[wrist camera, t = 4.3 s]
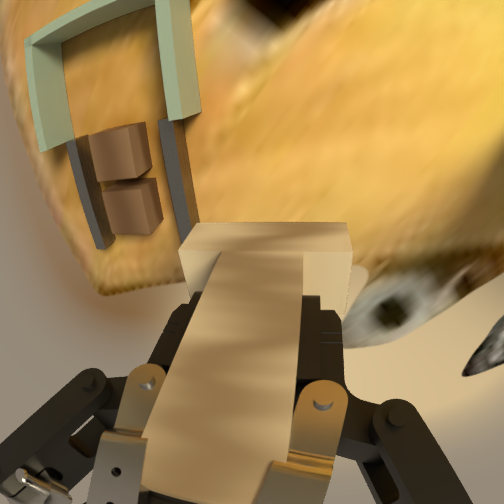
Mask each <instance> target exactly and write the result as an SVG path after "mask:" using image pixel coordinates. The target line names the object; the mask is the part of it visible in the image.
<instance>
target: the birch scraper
mask: <svg viewBox="0 0 504 504" xmlns="http://www.w3.org/2000/svg"><path fill="white" fill-rule="evenodd" d="M178 252H179V256H180V260H181V264H182V268H183V272H184V276H185V279H186V283H187V287H188V290H189V294H190V298H192V296H193V294H194V292H195V291H203V293H202V295H201V298H200V300H199V302H198V304H197V307H196V309H195V311H194V313H193V316H192V318H191V320H190V322H189V325H188V327H187V329H186V332H185V334H184V336H183V338H182V341H181V343H180V345H179V348H178V350H177V352H176V355H175V357H174V359H173V362H172V364H171V366H170V369H169V371H168V373H167V376H166V378H165V381H164V383H163V385H162V388H161V390H160V392H159V395H158V397H157V400H156V402H155V405H154V407H153V409H152V412H151V414H150V417H149V419H148V422H147V424H146V427H145V429H144V432H143V434H142V437H141V438H148V443H147V450H146V456H145V462H144V469H143V476H142V483H141V484H142V485H143V486H145V487H147V488H148V489H149V490H151V491H154V492H157V493H160V494H164V495H167V496H170V497H174V498H178V499H181V500H185V501H189V502H193V503H198V504H256V501H257V499H258V497H259V495H260V492H261V490H262V487H263V485H264V483H265V480H266V478H267V475H268V473H269V471H270V468H271V466H272V464H273V461H274V460H275V461H279V462H284V463H286V461H287V456H288V449H289V441H290V433H291V424H292V417H293V414H294V411H295V396H296V375H297V364H298V351H299V338H300V323H301V307H302V295H320V304H321V310H335V311H336V313H337V314H345V312H346V305H347V298H348V290H349V282H350V275H351V266H352V257H353V250H352V245H351V241H350V237H349V232H348V228H347V224H346V223H340V222H216V223H196V225H195V226H194V228H193V229H192V230H191V232H190V233H189V235H188V236H187V238H186V239H185V241H184V242H183V244H182V245H181V247H180V248H179V250H178Z"/></svg>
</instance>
